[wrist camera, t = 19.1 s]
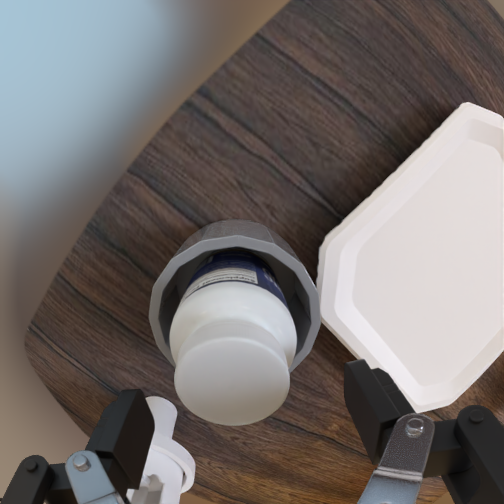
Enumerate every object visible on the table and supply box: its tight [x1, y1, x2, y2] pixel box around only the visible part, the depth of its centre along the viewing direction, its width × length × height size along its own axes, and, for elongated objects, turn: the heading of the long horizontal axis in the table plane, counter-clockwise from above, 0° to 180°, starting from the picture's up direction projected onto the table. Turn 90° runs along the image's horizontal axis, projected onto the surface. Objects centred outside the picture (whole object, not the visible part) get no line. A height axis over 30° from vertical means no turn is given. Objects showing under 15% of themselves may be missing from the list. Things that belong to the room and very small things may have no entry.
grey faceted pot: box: [149, 219, 321, 373], centre depth 17 cm, size 8×8×6 cm
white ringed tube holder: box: [126, 396, 195, 504], centre depth 15 cm, size 7×7×15 cm
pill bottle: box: [169, 248, 297, 426], centre depth 15 cm, size 5×5×10 cm
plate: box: [315, 102, 504, 413], centre depth 19 cm, size 21×21×2 cm
